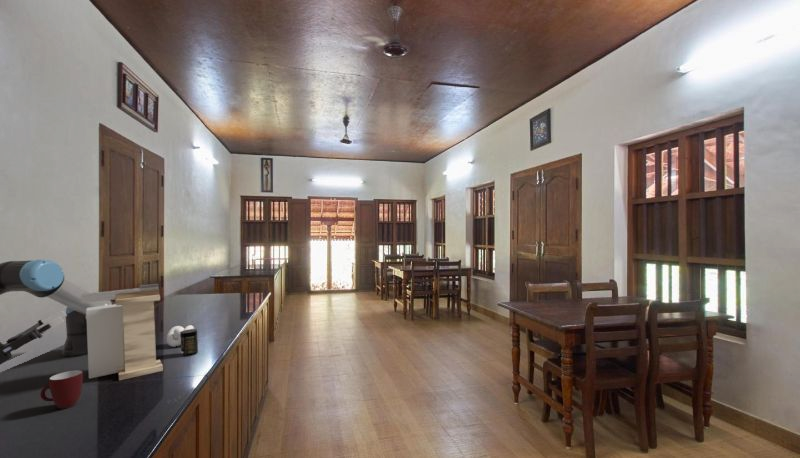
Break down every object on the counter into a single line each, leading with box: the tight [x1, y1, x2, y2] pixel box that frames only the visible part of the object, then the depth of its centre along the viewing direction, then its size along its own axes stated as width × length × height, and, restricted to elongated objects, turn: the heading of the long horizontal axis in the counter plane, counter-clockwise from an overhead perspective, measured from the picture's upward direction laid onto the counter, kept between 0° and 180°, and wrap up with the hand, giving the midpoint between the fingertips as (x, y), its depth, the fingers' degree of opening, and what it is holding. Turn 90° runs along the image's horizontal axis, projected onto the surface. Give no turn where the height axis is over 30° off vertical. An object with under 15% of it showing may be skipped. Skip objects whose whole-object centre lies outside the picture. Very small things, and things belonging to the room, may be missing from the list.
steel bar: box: [81, 283, 160, 303], centre depth 147 cm, size 3×24×4 cm, turn 128°
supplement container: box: [180, 328, 199, 357], centre depth 171 cm, size 7×7×10 cm
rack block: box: [86, 304, 124, 379], centre depth 152 cm, size 8×11×26 cm
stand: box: [114, 288, 164, 381], centre depth 151 cm, size 10×14×32 cm
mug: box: [39, 369, 84, 410], centre depth 121 cm, size 11×8×10 cm
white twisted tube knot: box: [166, 324, 195, 348], centre depth 186 cm, size 11×12×9 cm
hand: (63, 315), depth 137 cm, fingers open, 13 cm apart
